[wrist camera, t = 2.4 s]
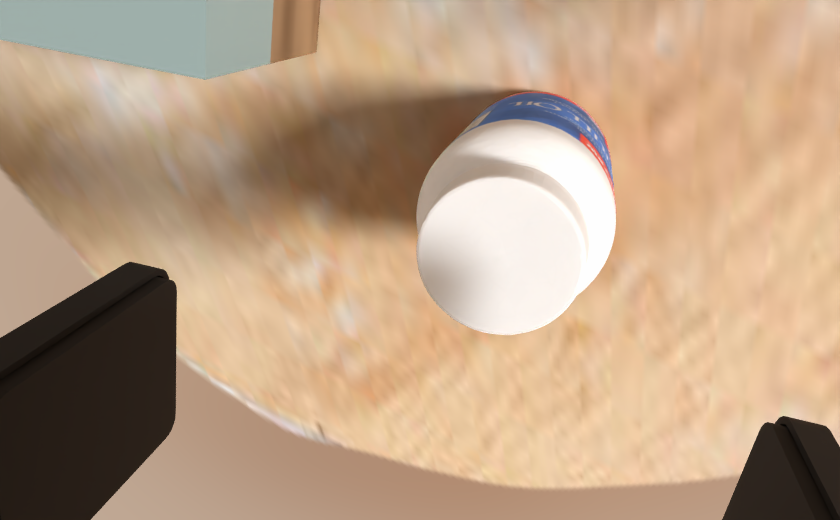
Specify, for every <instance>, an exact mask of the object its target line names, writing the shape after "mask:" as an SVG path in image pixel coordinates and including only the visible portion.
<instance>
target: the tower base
mask: <svg viewBox="0 0 840 520" xmlns="http://www.w3.org/2000/svg"><path fill="white" fill-rule="evenodd" d="M319 13H320V0H274V2H273V21H272V40H271V58H270V64H271V63H275V62H279V61H283V60H287V59H291V58H295V57H299V56H303V55H307V54H311V53H315V52H316V50H317V38H318V25H319Z"/></svg>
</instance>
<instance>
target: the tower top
mask: <svg viewBox="0 0 840 520" xmlns="http://www.w3.org/2000/svg"><path fill="white" fill-rule="evenodd" d="M273 2H274V0H0V40H4V41H10V42H15V43H20V44H25V45H30V46H35V47H40V48H45V49H51V50H56V51H61V52H66V53H71V54H76V55H81V56H86V57H92V58H97V59H102V60H107V61H112V62H117V63H122V64H127V65H133V66H138V67H143V68H148V69H153V70H158V71H163V72H168V73H174V74H179V75H184V76H189V77H194V78H199V79H204V80H206V79H210V78H214V77H218V76H222V75H226V74H230V73H234V72H238V71H242V70H246V69H250V68H254V67H258V66H262V65H267V64H270V58H271V40H272V21H273Z"/></svg>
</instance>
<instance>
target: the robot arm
mask: <svg viewBox="0 0 840 520" xmlns="http://www.w3.org/2000/svg"><path fill="white" fill-rule="evenodd" d="M176 309H177V290H176V285H175V282H174V281H172V280H169V277H168V274H167V272H166V271H165V270H163V269H159V268H155V267H151V266H146V265H142V264H138V263H133V262H129V263H126V264H124V265H122V266H121V267H119V268H117V269H116V270H114V271H112V272H111V273H109V274H107V275H105V276H104V277H102V278H100V279H99V280H97V281H95V282H94V283H92V284H90V285H89V286H87V287H85V288H84V289H82V290H80V291H79V292H77V293H75V294H74V295H72V296H70V297H69V298H67V299H65V300H64V301H62V302H60V303H58V304H57V305H55V306H53V307H52V308H50V309H48V310H47V311H45V312H43V313H42V314H40V315H38V316H37V317H35V318H33V319H31V320H30V321H28V322H26V323H25V324H23V325H21V326H20V327H18V328H17V329H15V330H13V331H11V332H10V333H8V334H6V335H5V336H3V337H1V338H0V520H91V519H92V517H93V516H94V515H95V514H96V513H97V512H98V511H99V510H100V509H101V508H102V506H104V505H105V503H106V502H107V501H108V500H109V499H110V498H111V497H112V496H113V495H114V494H115V493H116V491H118V489H119V488H120V487H121V486H122V485H123V484H124V483H125V482H126V481H127V480H128V479H129V477H130V476H131V475H132V474H133V473H134V472H135V471H136V470H137V469H138V468H139V467H140V466H141V465H142V463H143V462H144V461H145V460H146V459H147V458H148V457H149V456H150V455H151V454H152V453H153V452H154V450H155V449H156V448H157V447H158V446H159V445H160V444H161V443H162V442H163V441H164V440H165V439H166V437H167V436H168V435H169V433H170V431H171V430H172V427H173V424H174V421H175V411H176ZM722 520H840V447H839V445H838V443H837V442H836V440H835V438H834V436H833V435H832V433H831V431H830V430H829V429H828V428H827V427H826V426H823V425H820V424H815V423H811V422H807V421H803V420H798V419H794V418H790V417H786V416H783V417H780V418H779V419H778V420H777V421H776V422H775V424H773V423H769V422H767V423H765V424H764V425H763V426H762V427H761V429H760V431H759V433H758V436H757V438H756V440H755V443H754V445H753V448H752V450H751V452H750V455H749V457H748V460H747V462H746V464H745V467H744V469H743V471H742V474H741V476H740V479H739V481H738V483H737V486H736V488H735V491H734V493H733V495H732V498H731V500H730V503H729V505H728V507H727V510H726V512H725V515H724V517H723V519H722Z"/></svg>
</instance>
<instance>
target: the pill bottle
mask: <svg viewBox="0 0 840 520" xmlns="http://www.w3.org/2000/svg"><path fill="white" fill-rule="evenodd" d="M416 221H417V230H418V240H417V263H418V269H419V272H420V276H421V279H422V281H423V283H424V286H425V288H426V290H427V292H428V293H429V295H430V296H431V297H432V299H433V300H434V301H435V303H436V304H437V305H438V306H439V307H440V308H441V309H442V310H443V311H444V312H445V313H447V314H448V315H449V316H450V317H451V318H453V319H454V320H456V321H458V322H459V323H461V324H463V325H465V326H467V327H469V328H472V329H474V330H477V331H480V332H485V333H489V334H499V335H515V334H520V333H525V332H529V331H532V330H535V329H538V328H540V327H542V326H544V325H546V324H548V323H550V322H551V321H553V320H554V319H556V318H557V317H558V316H560V315H561V314H562V313H563V312H564V311H565V310H566V309H567V308H568V307H569V305H570V304H571V303H572V302H573V300H574V299H575V297H576V296H577V295H578V294H579V293H581V292H582V291H583V290H584V289H585V288H586V287H587V286H588V285H589V284H590V283H591V282H592V281H593V280H594V279H595V278H596V276H597V275H598V273H599V272H600V270H601V269H602V267H603V266H604V264H605V262H606V260H607V258H608V255H609V253H610V250H611V247H612V244H613V240H614V235H615V227H616V202H615V196H614V184H613V176H612V167H611V157H610V152H609V148H608V145H607V141H606V139H605V137H604V135H603V133H602V131H601V129H600V127H599V126H598V124H597V123H596V121H595V120H594V119H593V118H592V117H591V115H590V114H589V113H588V112H587V111H586V110H584V109H583V108H582V107H581V106H579V105H578V104H576V103H575V102H573V101H571V100H569V99H567V98H565V97H563V96H560V95H557V94H553V93H548V92H537V91H535V92H523V93H518V94H514V95H510V96H508V97H505V98H503V99H501V100H499V101H497V102H495V103H493V104H492V105H490V106H489V107H487V108H486V109H485V110H484V111H483V112H482V113H480V114H479V115H478V116H477V117H476V118H475V119H474V120H473V122H472V123H471V124H470V125H469V126H468V127H467V128H466V129H465V130H464V131H463V132H462V133H461V134H460V135H459V136H458V137H457V138H456V139H455V140H454V141H453V142H452V143H451V144H450V145H449V146H448V147H447V148H446V149H445V150H444V151H443V152H442V153H441V155H440V156H439V157H438V159H437V160H436V161H435V162H434V164H433V165H432V167H431V168H430V170H429V172H428V174H427V175H426V178H425V180H424V182H423V185H422V187H421V190H420V193H419V198H418V203H417V216H416Z"/></svg>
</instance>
